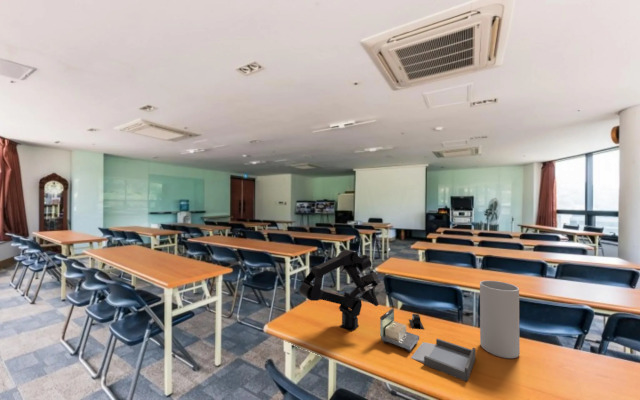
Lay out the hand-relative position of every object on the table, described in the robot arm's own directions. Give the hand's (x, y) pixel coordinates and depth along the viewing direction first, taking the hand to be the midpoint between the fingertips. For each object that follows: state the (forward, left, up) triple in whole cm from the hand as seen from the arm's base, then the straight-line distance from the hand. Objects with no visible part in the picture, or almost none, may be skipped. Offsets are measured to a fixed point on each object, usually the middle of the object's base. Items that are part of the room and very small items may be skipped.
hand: (377, 305), depth 110 cm
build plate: (+9, +21, -13) cm, 27 cm away
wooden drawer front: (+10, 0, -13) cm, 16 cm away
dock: (+26, 0, -14) cm, 29 cm away
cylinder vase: (+41, +21, -13) cm, 48 cm away
